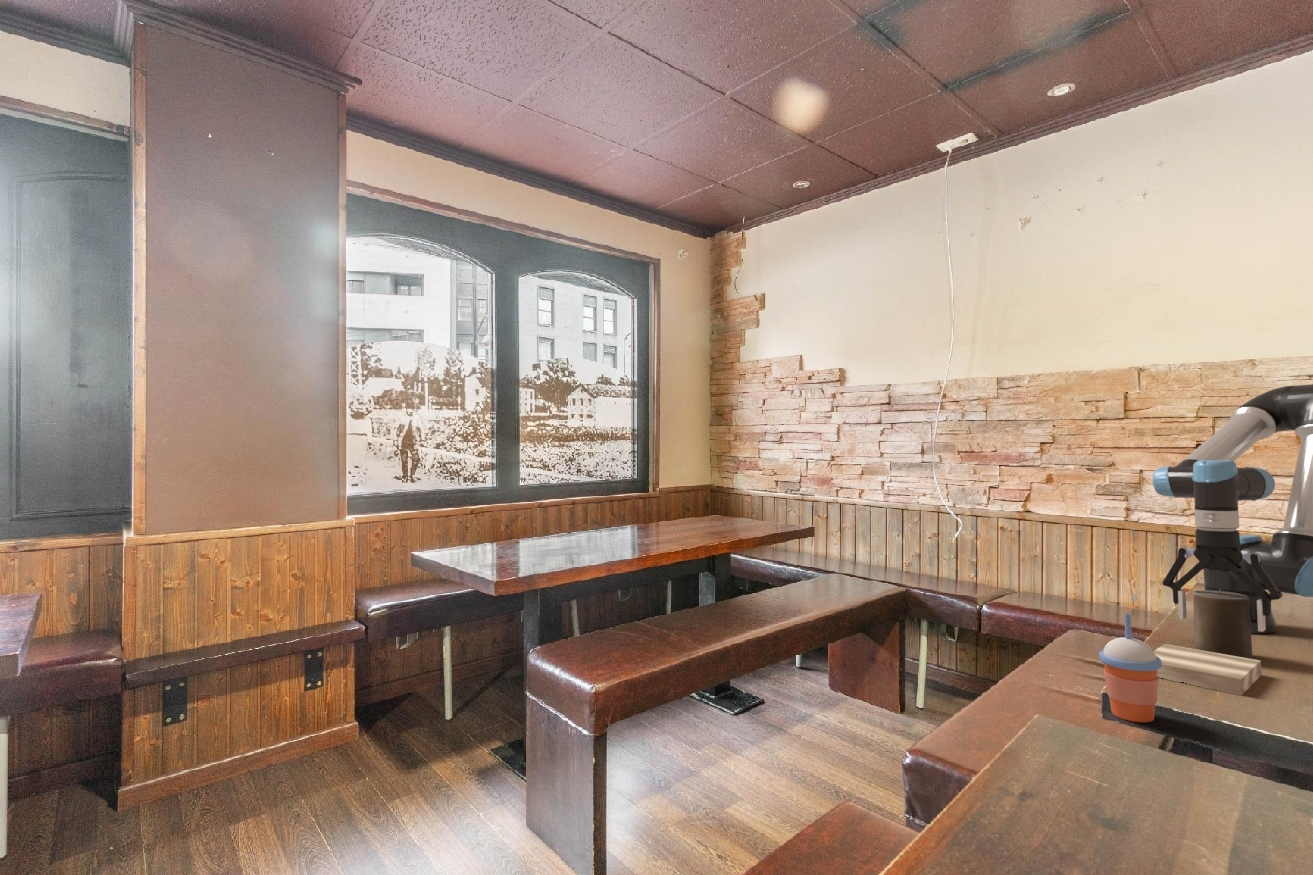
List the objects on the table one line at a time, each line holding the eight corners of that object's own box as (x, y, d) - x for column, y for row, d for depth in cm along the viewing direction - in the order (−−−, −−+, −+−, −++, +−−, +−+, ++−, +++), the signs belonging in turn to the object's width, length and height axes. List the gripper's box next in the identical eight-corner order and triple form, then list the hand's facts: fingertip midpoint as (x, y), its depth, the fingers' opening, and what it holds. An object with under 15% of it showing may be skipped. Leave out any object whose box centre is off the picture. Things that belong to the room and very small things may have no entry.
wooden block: (1165, 657, 146) (1164, 643, 146) (1261, 675, 133) (1260, 660, 133) (1140, 674, 136) (1140, 659, 136) (1241, 695, 123) (1240, 679, 123)
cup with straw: (1167, 713, 116) (1162, 612, 117) (1161, 731, 110) (1156, 623, 110) (1106, 701, 123) (1101, 605, 123) (1097, 717, 116) (1092, 615, 116)
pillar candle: (1237, 665, 139) (1234, 595, 139) (1185, 653, 148) (1182, 586, 148) (1262, 658, 143) (1259, 590, 143) (1210, 647, 152) (1207, 582, 152)
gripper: (1144, 526, 154) (1148, 616, 153) (1290, 535, 134) (1294, 639, 133) (1154, 523, 158) (1158, 611, 158) (1297, 532, 138) (1302, 632, 138)
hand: (1221, 624), depth 145 cm, fingers open, 13 cm apart
